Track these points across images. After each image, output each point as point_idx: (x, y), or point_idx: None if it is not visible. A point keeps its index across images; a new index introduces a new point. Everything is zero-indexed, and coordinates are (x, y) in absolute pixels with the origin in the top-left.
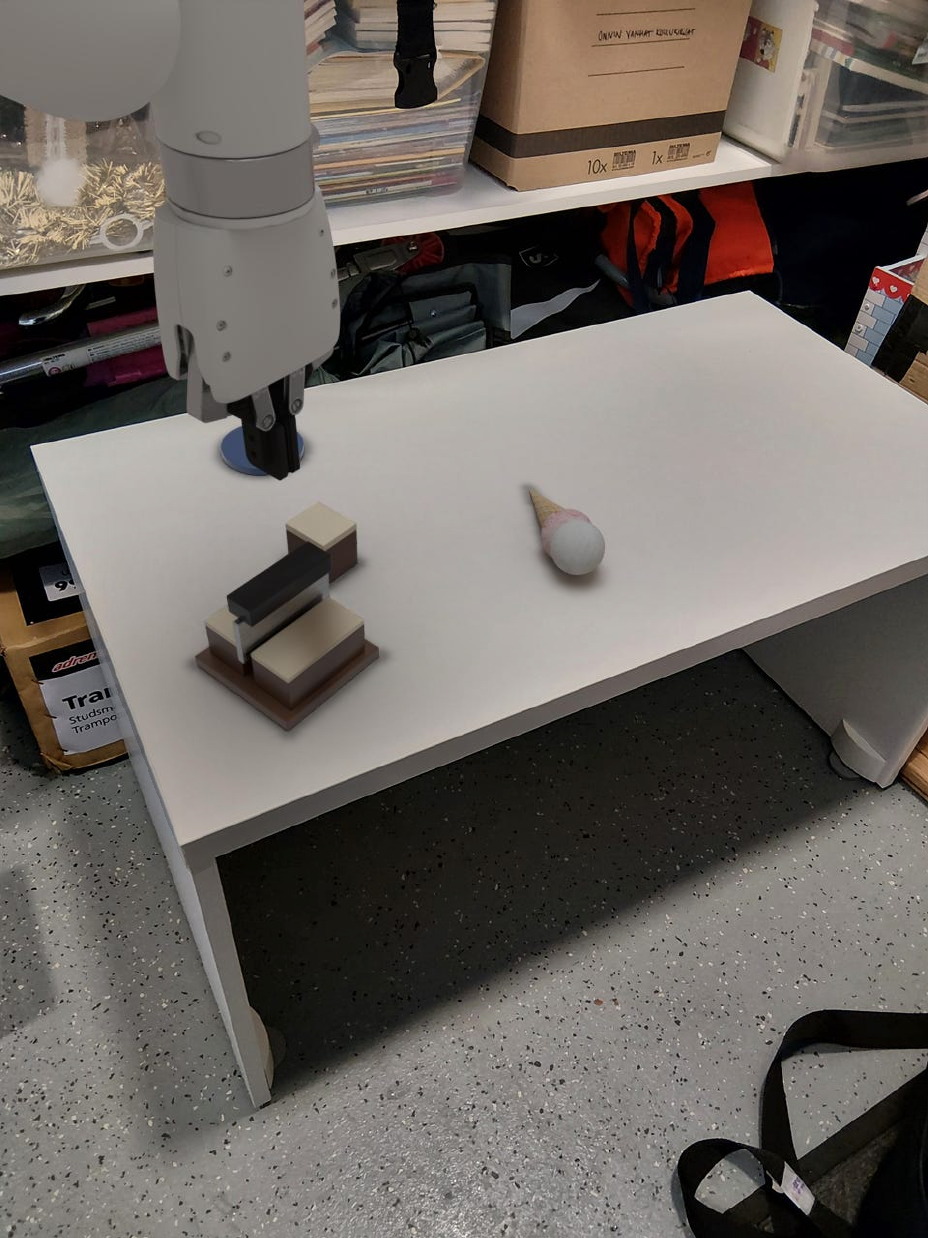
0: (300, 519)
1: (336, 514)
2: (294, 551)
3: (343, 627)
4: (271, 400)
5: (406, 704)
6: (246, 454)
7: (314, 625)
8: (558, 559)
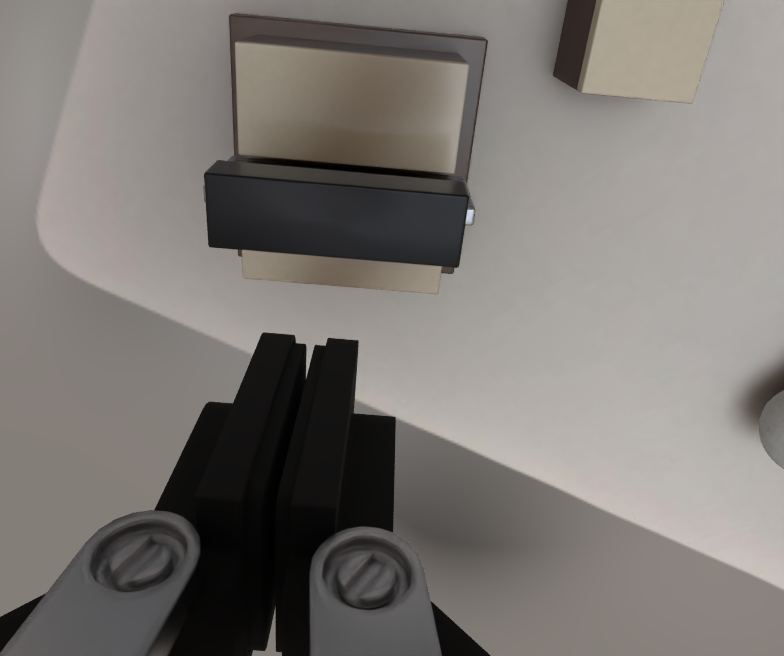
0: None
1: (703, 40)
2: (417, 198)
3: (399, 277)
4: (295, 650)
5: (394, 347)
6: (202, 412)
7: None
8: (770, 420)
